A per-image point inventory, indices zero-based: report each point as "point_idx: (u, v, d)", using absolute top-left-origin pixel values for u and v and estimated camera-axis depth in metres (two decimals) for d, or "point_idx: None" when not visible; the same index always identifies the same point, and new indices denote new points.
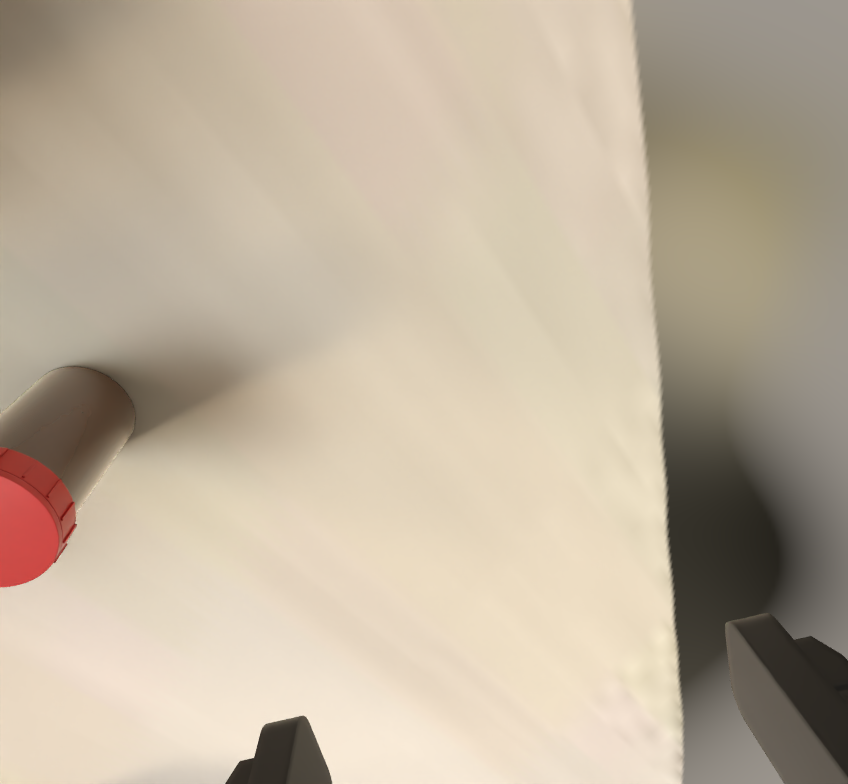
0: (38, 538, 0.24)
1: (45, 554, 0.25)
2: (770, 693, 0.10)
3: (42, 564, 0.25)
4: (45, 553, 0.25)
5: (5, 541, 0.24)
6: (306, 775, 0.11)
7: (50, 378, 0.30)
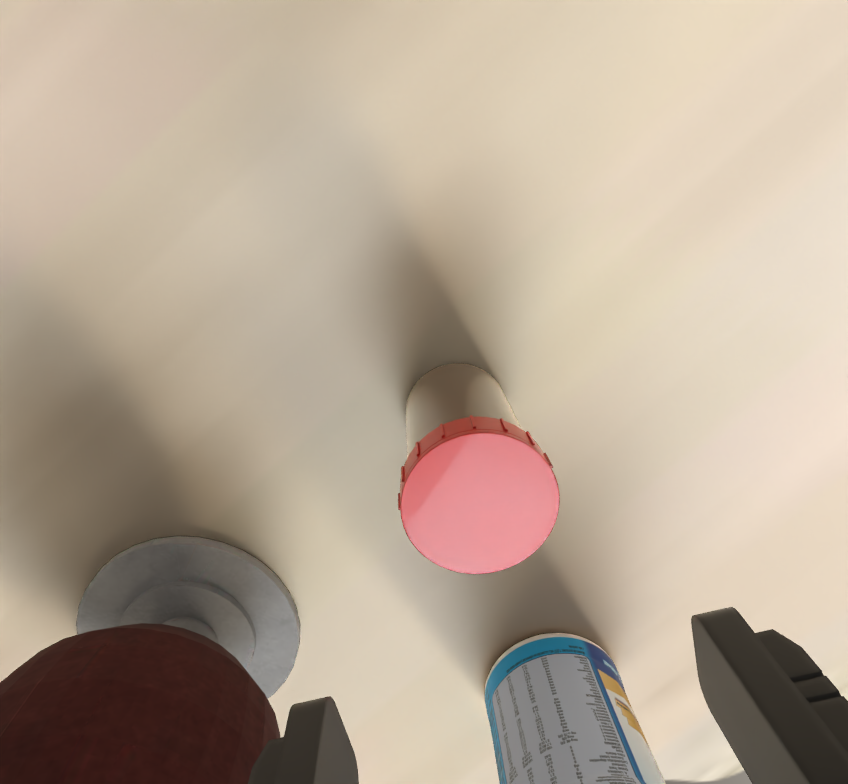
0: (493, 452, 0.22)
1: (515, 449, 0.22)
2: (731, 684, 0.10)
3: (529, 455, 0.22)
4: (513, 449, 0.22)
5: (495, 484, 0.22)
6: (334, 753, 0.11)
7: None
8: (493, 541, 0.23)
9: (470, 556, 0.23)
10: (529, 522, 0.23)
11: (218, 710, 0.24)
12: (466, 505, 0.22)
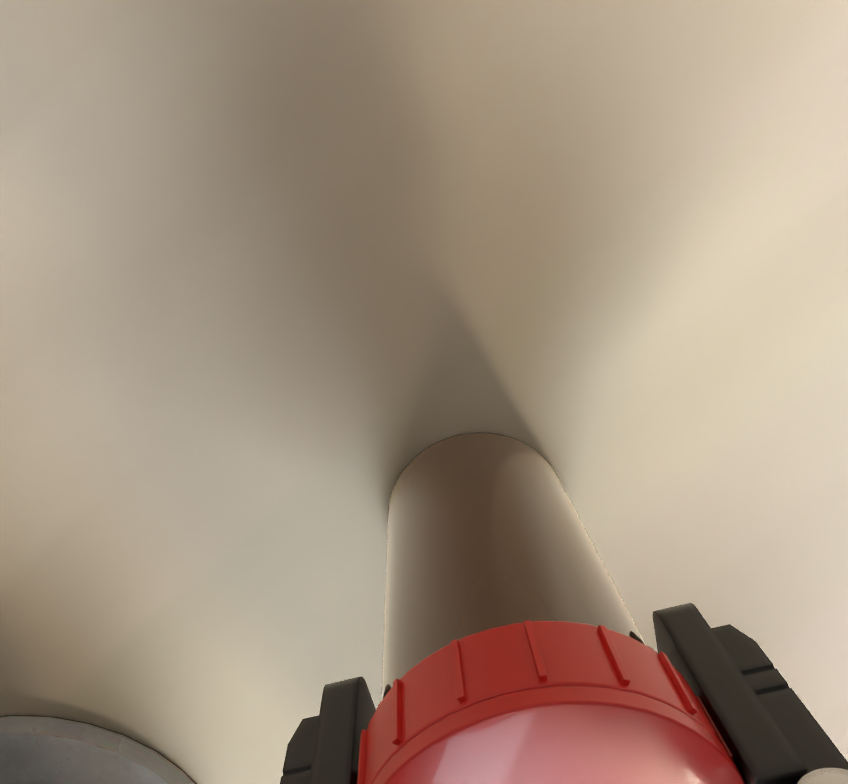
0: (593, 747, 0.08)
1: (652, 738, 0.08)
2: (686, 677, 0.10)
3: (688, 749, 0.08)
4: (649, 738, 0.08)
5: None
6: None
7: None
8: None
9: None
10: None
11: None
12: None
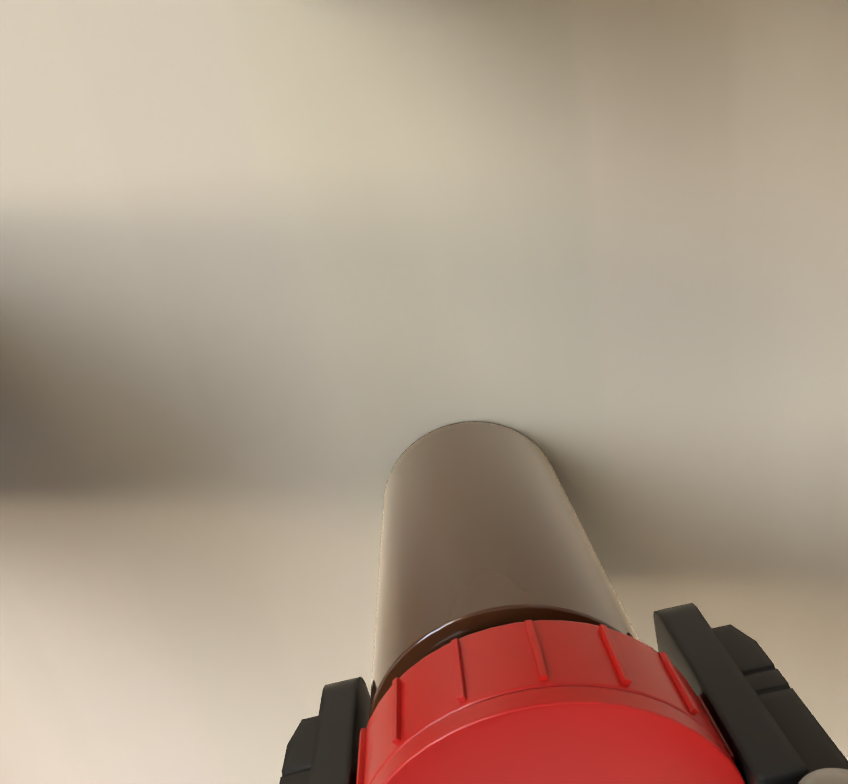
0: (593, 747, 0.08)
1: (653, 739, 0.08)
2: (686, 678, 0.10)
3: (689, 750, 0.08)
4: (649, 739, 0.08)
5: None
6: None
7: (510, 444, 0.16)
8: None
9: None
10: None
11: None
12: None
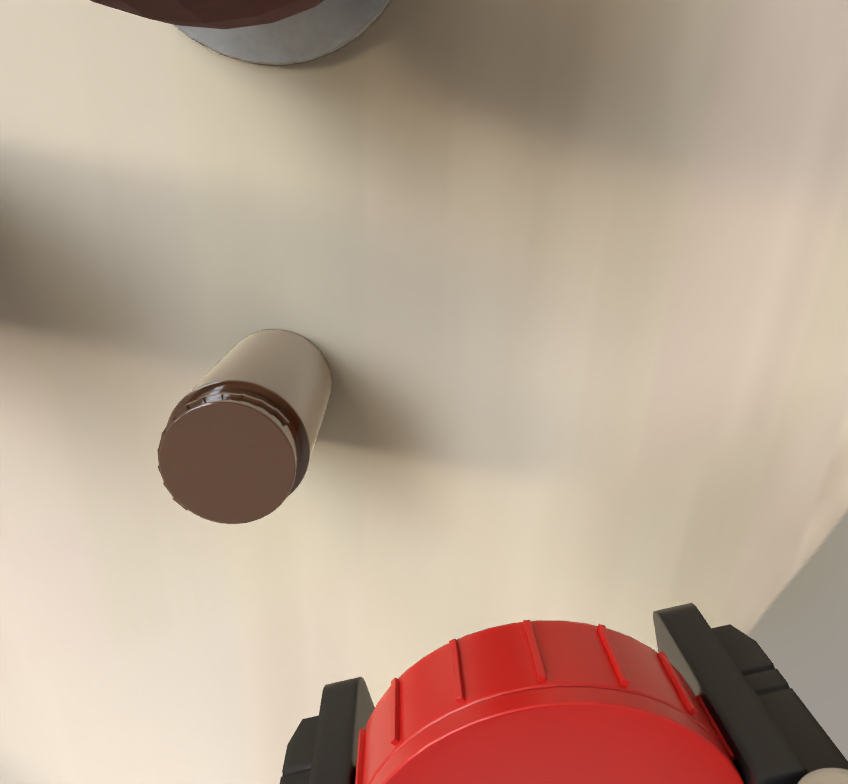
0: (592, 748, 0.08)
1: (652, 739, 0.08)
2: (686, 677, 0.10)
3: (688, 750, 0.08)
4: (648, 739, 0.08)
5: None
6: None
7: (298, 343, 0.28)
8: None
9: None
10: None
11: None
12: None
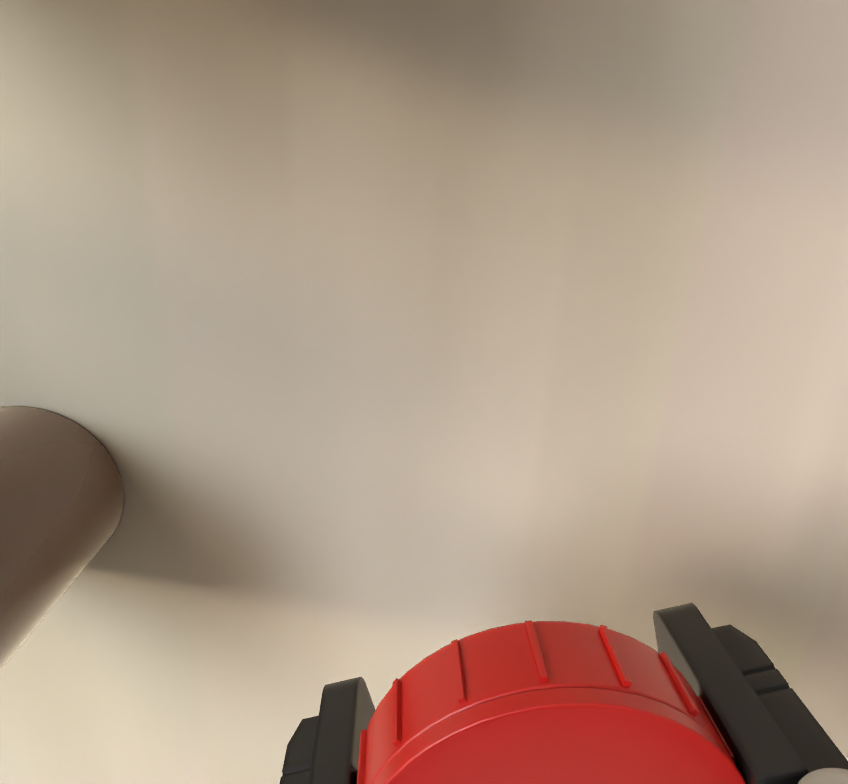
0: (594, 748, 0.08)
1: (654, 740, 0.08)
2: (686, 678, 0.10)
3: (690, 750, 0.08)
4: (650, 740, 0.08)
5: None
6: None
7: (40, 435, 0.17)
8: None
9: None
10: None
11: None
12: None
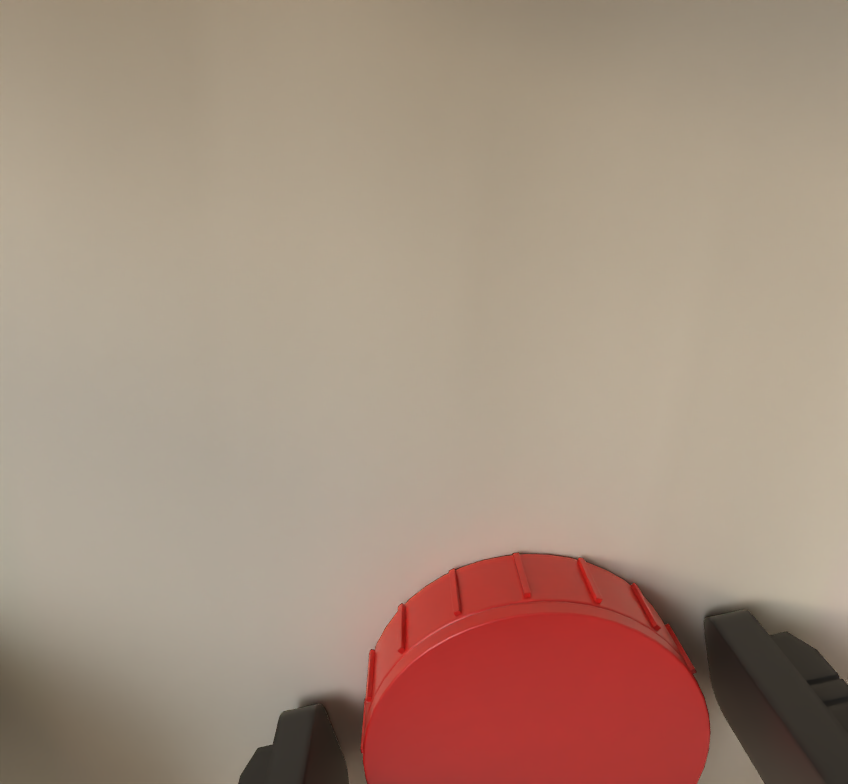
0: (569, 654, 0.10)
1: (620, 647, 0.10)
2: (746, 687, 0.10)
3: (651, 658, 0.10)
4: (617, 647, 0.10)
5: (572, 715, 0.10)
6: (324, 761, 0.11)
7: None
8: None
9: None
10: None
11: None
12: (507, 755, 0.10)
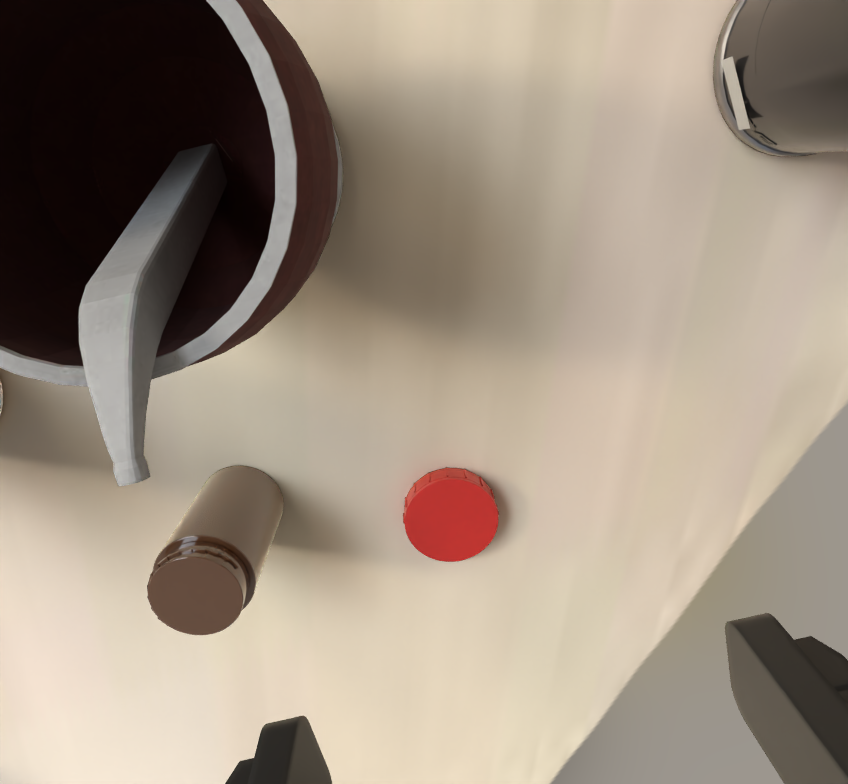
0: (458, 490, 0.38)
1: (471, 489, 0.38)
2: (771, 694, 0.10)
3: (479, 492, 0.38)
4: (470, 488, 0.38)
5: (460, 509, 0.38)
6: (306, 774, 0.11)
7: (256, 480, 0.37)
8: (459, 542, 0.39)
9: (446, 551, 0.39)
10: (480, 530, 0.39)
11: None
12: (443, 521, 0.38)
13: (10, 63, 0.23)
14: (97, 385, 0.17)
